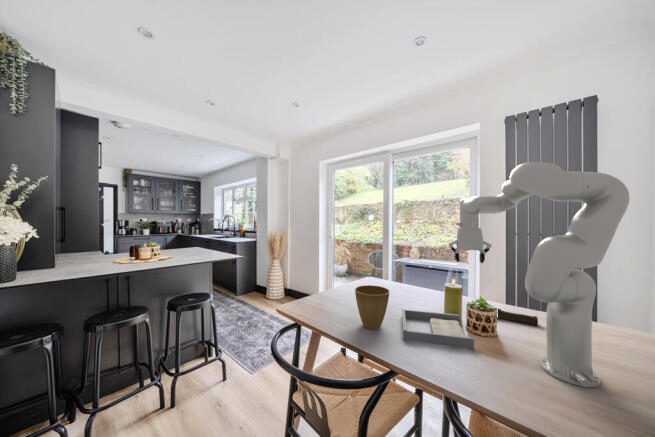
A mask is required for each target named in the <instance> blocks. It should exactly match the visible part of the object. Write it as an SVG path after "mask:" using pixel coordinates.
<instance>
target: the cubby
mask: <svg viewBox="0 0 655 437" xmlns="http://www.w3.org/2000/svg"><path fill="white" fill-rule="evenodd" d="M401 315H402V317H401V318H402V321H401V322H402V336H403V337H402V339H403V340H404V341H411V342H416V343H425V344H433V345H434V344H435V345H440V346H447V347H448V346H449V347H456V348H463V349H471V350H474V349H475V338H474V337H469V336H465V337H462V336H453V335H445V334H436V333H432V332H429V331H428V332H427V331H426V332H425V331H418V330H409V329H407V319H413V320H422V321H424V320H425V321H430V319H431V318H437V319H438V318H439V319H443V320H455V321H458V322H459V323H460V315H459V314H454V313H443V312H442V313H441V312H435V311H434V312H433V311H426V310H425V311H424V310H414V309H412V310H411V309H402V310H401Z"/></svg>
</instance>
